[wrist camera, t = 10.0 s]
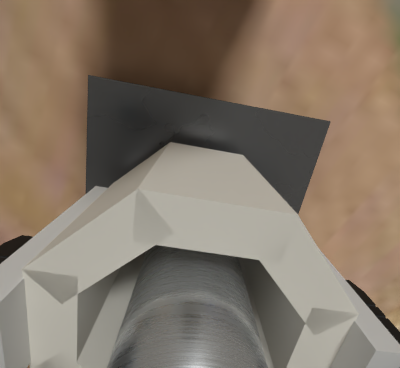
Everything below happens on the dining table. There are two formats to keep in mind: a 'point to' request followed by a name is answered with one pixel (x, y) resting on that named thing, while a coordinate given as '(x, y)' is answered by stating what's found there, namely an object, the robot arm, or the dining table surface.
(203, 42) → the dining table surface
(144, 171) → the ring
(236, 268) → the post
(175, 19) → the dining table surface
